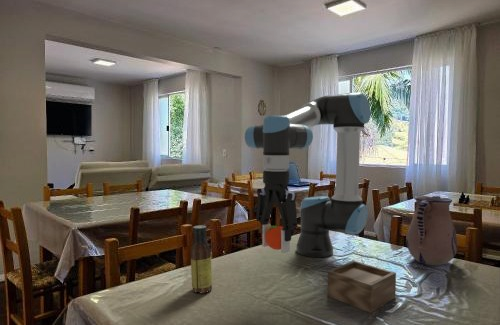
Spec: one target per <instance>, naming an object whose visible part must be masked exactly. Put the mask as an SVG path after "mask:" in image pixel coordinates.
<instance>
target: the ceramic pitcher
mask: <svg viewBox="0 0 500 325" xmlns="http://www.w3.org/2000/svg"><path fill="white" fill-rule="evenodd" d="M413 198H414V200H415V202H416V208H415V211H414V214H413V216H412V219H411V221H410V224H409V225H408V226H409V227H408V230H407V232H406V237H405V242H406V247H407V249H408V252H409V254H410V255H411V256H412V258H414V259H415V261H416V262H418V263H419V264H424V265H425V266H426V265H427V266H443V265H445V264H448V263H449V262H451V261H452V260H453V259H454V258H455V257H456V254H457V252H458V247H459V246H458V237H457V232H456V228H455V225H454V221H453V219H452V214H451V211H450V205H451V204H452V202H453V200H452V199H451V198H447V197H442V196H439V195H438V196H435V195H432V196H427V195H414V196H413Z"/></svg>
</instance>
